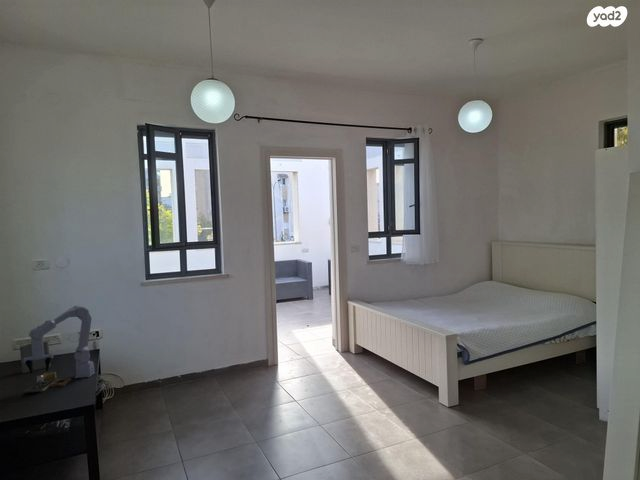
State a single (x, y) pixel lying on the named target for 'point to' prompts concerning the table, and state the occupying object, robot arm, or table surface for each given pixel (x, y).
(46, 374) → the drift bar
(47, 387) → the socket board
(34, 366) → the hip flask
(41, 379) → the steel peg
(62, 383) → the frame
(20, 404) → the table surface
